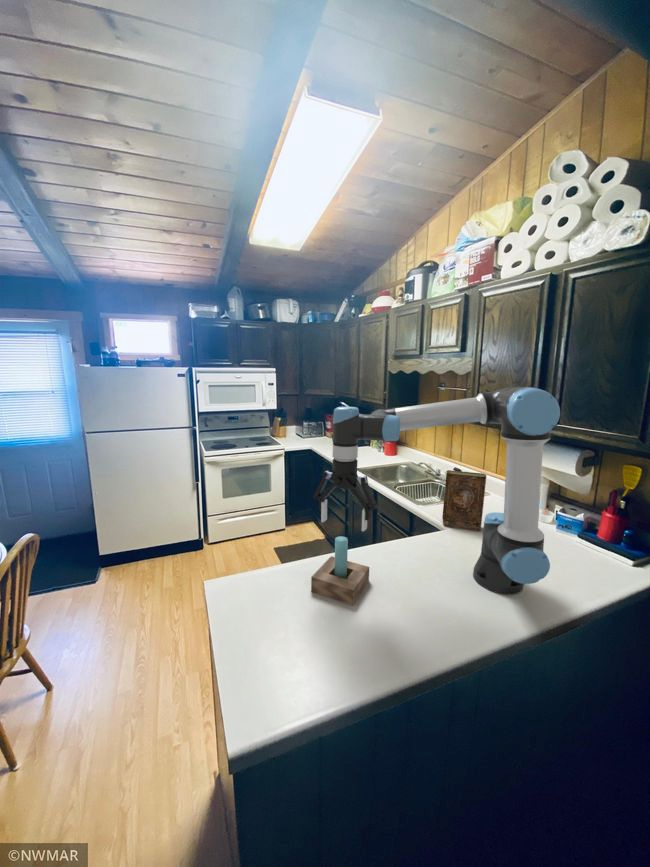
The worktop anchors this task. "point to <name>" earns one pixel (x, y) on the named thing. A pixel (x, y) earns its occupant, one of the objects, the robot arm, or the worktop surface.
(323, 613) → the worktop surface
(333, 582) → the socket block
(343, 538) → the peg
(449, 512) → the book
